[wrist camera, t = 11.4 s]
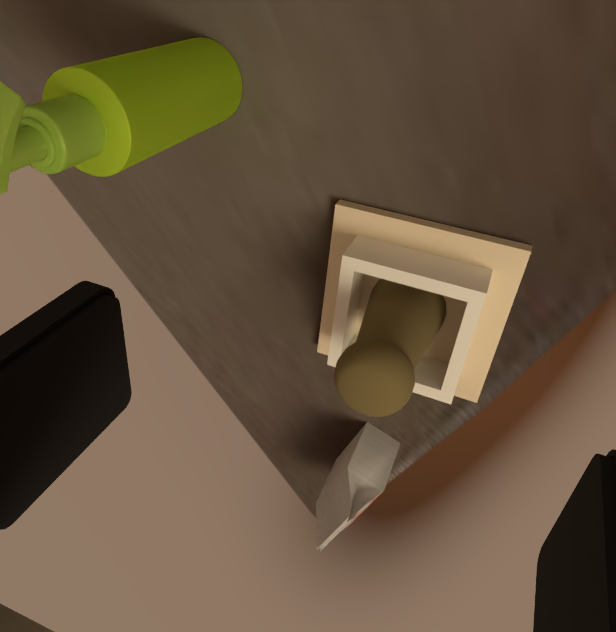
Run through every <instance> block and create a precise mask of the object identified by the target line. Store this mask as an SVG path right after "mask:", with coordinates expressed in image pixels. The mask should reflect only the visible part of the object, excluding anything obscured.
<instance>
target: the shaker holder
mask: <svg viewBox="0 0 616 632" xmlns="http://www.w3.org/2000/svg"><path fill="white" fill-rule="evenodd" d="M531 250H532V245H528V244H523V243H519V242H515V241H511V240H507V239H503V238H498V237H494V236H490V235H486V234H482V233H478V232H473V231H469V230H465V229H461V228H457V227H453V226H449V225H444V224H440V223H436V222H432V221H428V220H424V219H419V218H415V217H411V216H407V215H403V214H399V213H394V212H390V211H386V210H382V209H378V208H374V207H369V206H365V205H361V204H357V203H353V202H349V201H344V200H339V201H338V202H337V203H336V204H335V212H334V220H333V228H332V237H331V245H330V253H329V261H328V269H327V277H326V285H325V293H324V301H323V309H322V317H321V325H320V333H319V342H318V350H317V352H319V353H322V354H325V355H328V363H327V365H331V366H334V367H336V363H337V361H338V359H339V357H340V356H341V354H342V353H343V352H344V350H345V349H346V348H347V347H349V346H350V345H352V344H353V343H355V342H356V340H357V336H358V333H359V330H360V327H361V323H362V320H363V317H364V314H365V311H366V307H367V304H368V301H369V298H370V294H371V291H372V289H373V287H374V286H375V285H376V283H377V282H378V281H379V280H380V279H385V280H389V281H392V282H396V283H400V284H403V285H407V286H411V287H414V288H418V289H422V290H425V291H429V292H433V293H436V294H440V295H443V297H444V300H445V302H446V317H445V320H444V322H443V325H442V326H441V328H440V329H439V331H438V332H437V334H436V335H435V337H434V339H433V340H432V342H431V343H430V345H429V346H428V348H427V349H426V351H425V353H424V354H423V356H422V357H421V359H420V360H419V362H418V363H417V365H416V366H415V368H414V375H415V385H414V388H413V391H412V392H414V393H417V394H420V395H423V396H426V397H430V398H433V399H436V400H439V401H442V402H445V403H448V404H451V403H452V400H453V397H454V396H457V397H460V398H463V399H466V400H470V401H473V402H476V403H477V401H478V398H479V395H480V392H481V390H482V387H483V384H484V381H485V379H486V376H487V373H488V370H489V368H490V365H491V362H492V359H493V356H494V354H495V351H496V348H497V345H498V343H499V340H500V337H501V334H502V331H503V329H504V326H505V323H506V320H507V318H508V315H509V312H510V309H511V307H512V304H513V301H514V298H515V295H516V293H517V290H518V287H519V284H520V282H521V279H522V276H523V273H524V270H525V268H526V265H527V262H528V259H529V257H530V254H531Z"/></svg>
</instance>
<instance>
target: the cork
mask: <svg viewBox="0 0 616 632" xmlns="http://www.w3.org/2000/svg"><path fill="white" fill-rule="evenodd" d="M445 317H446V302H445V300H444V297H443V295H440V294H436V293H433V292H429V291H425V290H422V289H418V288H414V287H411V286H407V285H403V284H400V283H396V282H392V281H389V280H385V279H380V280H379V281H378V282H377V283H376V285H375V286H374V287H373V289H372V291H371V294H370V298H369V301H368V304H367V307H366V311H365V314H364V317H363V320H362V323H361V327H360V330H359V333H358V336H357V340H356V342H355V343H353V344H352V345H350V346H349V347H347V348H346V349H345V350H344V352H343V353H342V354H341V356H340V357H339V359H338V361H337V363H336V368H335V373H334V380H335V386H336V389H337V391H338V393H339V395H340V397H341V399H342V400H343V401H344V402H345V403H346V404H347V405H348V406H349V407H350V408H352V409H353V410H355V411H356V412H359V413H361V414H364V415H366V416H373V417H382V416H388V415H390V414H393V413H395V412H397V411H399V410H400V409H401V408H402V407H403V406H404V405H405V404H406V403H407V402H408V400H409V399H410V397H411V394H412V391H413V388H414V385H415V375H414V368H415V366H416V365H417V363H418V362H419V360H420V359H421V357H422V356H423V354H424V353H425V351H426V349H427V348H428V346H429V345H430V343H431V342H432V340H433V339H434V337H435V335H436V334H437V332H438V331H439V329H440V328H441V326H442V325H443V322H444V320H445Z"/></svg>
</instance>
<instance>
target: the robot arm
mask: <svg viewBox="0 0 616 632" xmlns="http://www.w3.org/2000/svg"><path fill="white" fill-rule="evenodd" d="M130 398H131V385H130V378H129V369H128V363H127V354H126V347H125V339H124V331H123V324H122V316H121V308H120V303H119V300H118V299H117V298H115V294H114V292H113V291H112V289H110V288H108V287H105V286H101V285H98V284H95V283H92V282H89V281H82V282H80V283H78V284H76V285H75V286H74V287H72V288H71V289H69V290H68V291H66V292H65V293H63V294H62V295H60V296H59V297H57V298H56V299H54V300H53V301H51V302H50V303H48V304H47V305H46V306H44V307H42V308H41V309H39V310H38V311H36V312H35V313H33V314H32V315H30V316H29V317H27V318H26V319H25V320H23V321H22V322H20V323H19V324H17V325H16V326H14V327H13V328H11V329H10V330H8V331H7V332H5V333H4V334H2V335H1V336H0V529H6V528H7V527H9V526H10V525H12V524H13V523H14V522H15V521H16V520H17V519H18V518H19V517H20V516H21V515H22V514H23V513H24V512H25V510H27V509H28V508H29V507H30V505H31V504H32V503H33V502H34V501H35V500H36V499H37V498H38V497H39V496H40V495H41V494H42V493H43V492H44V491H45V490H46V489H47V488H48V487H49V486H50V485H51V484H52V483H53V482H54V481H55V480H56V478H58V477H59V476H60V475H61V474H62V473H63V472H64V470H66V468H67V467H69V465H70V464H71V463H72V462H73V461H74V460H75V459H76V458H77V457H78V456H79V455H80V454H81V453H82V452H83V451H84V450H85V449H86V448H87V447H88V446H89V445H90V444H91V443H92V442H93V441H94V440H95V439H96V438H97V437H98V436H99V434H101V432H103V431H104V430H105V429H106V427H108V426H109V424H110V423H111V422H112V421H113V420H114V419H115V418H116V417H117V416H118V415H119V414H120V413H121V412H122V411H123V410H124V409H125V408H126V407H127V405H128V403H129V401H130ZM0 632H53V631H52V630H50V629H48V628H46V627H44V626H42V625H40V624H38V623H36V622H35V621H33V620H31V619H29V618H27V617H25V616H23V615H21V614H19V613H17V612H15V611H13V610H11V609H9V608H8V607H5V606H4V605H2V604H0ZM533 632H616V450H611V451H610V452H609V453H608V454H607V455H606V456H604V455H601V454H595V455H594V457H593V458H592V460H591V461H590V463H589V465H588V467H587V469H586V470H585V472H584V474H583V475H582V477H581V479H580V481H579V483H578V484H577V486H576V488H575V489H574V491H573V493H572V495H571V496H570V498H569V500H568V502H567V503H566V505H565V507H564V509H563V510H562V512H561V514H560V516H559V517H558V519H557V521H556V523H555V525H554V526H553V528H552V530H551V531H550V533H549V535H548V537H547V539H546V540H545V542H544V544H543V546H542V548H541V551H540V554H539V557H538V563H537V576H536V594H535V611H534V629H533Z"/></svg>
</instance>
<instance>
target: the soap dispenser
mask: <svg viewBox="0 0 616 632" xmlns="http://www.w3.org/2000/svg"><path fill="white" fill-rule="evenodd" d="M241 96H242V79H241V74H240V71H239V68H238V66H237V64H236V62H235V60H234V58H233V57H232V55H231V54H230V53H229V51H228V50H227V49H226V48H225V47H224V46H222V45H221V44H220V43H218V42H216V41H214V40H212V39H209V38H205V37H197V38H192V39H187V40H183V41H179V42H174V43H170V44H166V45H161V46H157V47H153V48H148V49H144V50H140V51H135V52H131V53H126V54H122V55H118V56H113V57H109V58H105V59H100V60H96V61H92V62H87V63H83V64H79V65H74V66H70V67H66V68H62V69H60V70H58V71H56V72H55V73H54V74H52V75H51V77H50V78H49V79H48V81H47V83H46V85H45V88H44V91H43V97H42V102H39V103H36V104H32V105H29V106H26V103H25V101H24V100H23V99H22V98H21V97H20V96H19V95H18V94H16V93H15V92H14V91H13V90H11V89H10V88H9V87H7V86H6V85H5V84H4V83H2V82H1V81H0V194H2V193H4V192H7V188H8V181H9V174H10V172H13V171H15V170H18V169H20V168H23V167H25V166H28V165H30V166H32V167H33V168H35V169H36V170H38V171H40V172H42V173H45V174H55V173H58V172H61V171H63V170H66V169H68V168H70V167H73V166H75V167H76V168H78V169H79V170H81V171H83V172H85V173H87V174H90V175H93V176H98V177H107V176H111V175H114V174H116V173H118V172H120V171H122V170H124V169H126V168H128V167H130V166H132V165H134V164H136V163H138V162H141V161H143V160H145V159H147V158H149V157H151V156H153V155H155V154H157V153H159V152H161V151H163V150H165V149H167V148H169V147H171V146H173V145H175V144H177V143H180V142H182V141H184V140H186V139H188V138H190V137H192V136H194V135H196V134H198V133H200V132H202V131H204V130H206V129H208V128H210V127H212V126H214V125H216V124H218V123H221V122H223V121H225V120H226V119H228V118H229V117H231V116H232V115H233V114H234V112H235V111H236V110H237V108H238V106H239V103H240V100H241Z"/></svg>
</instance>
